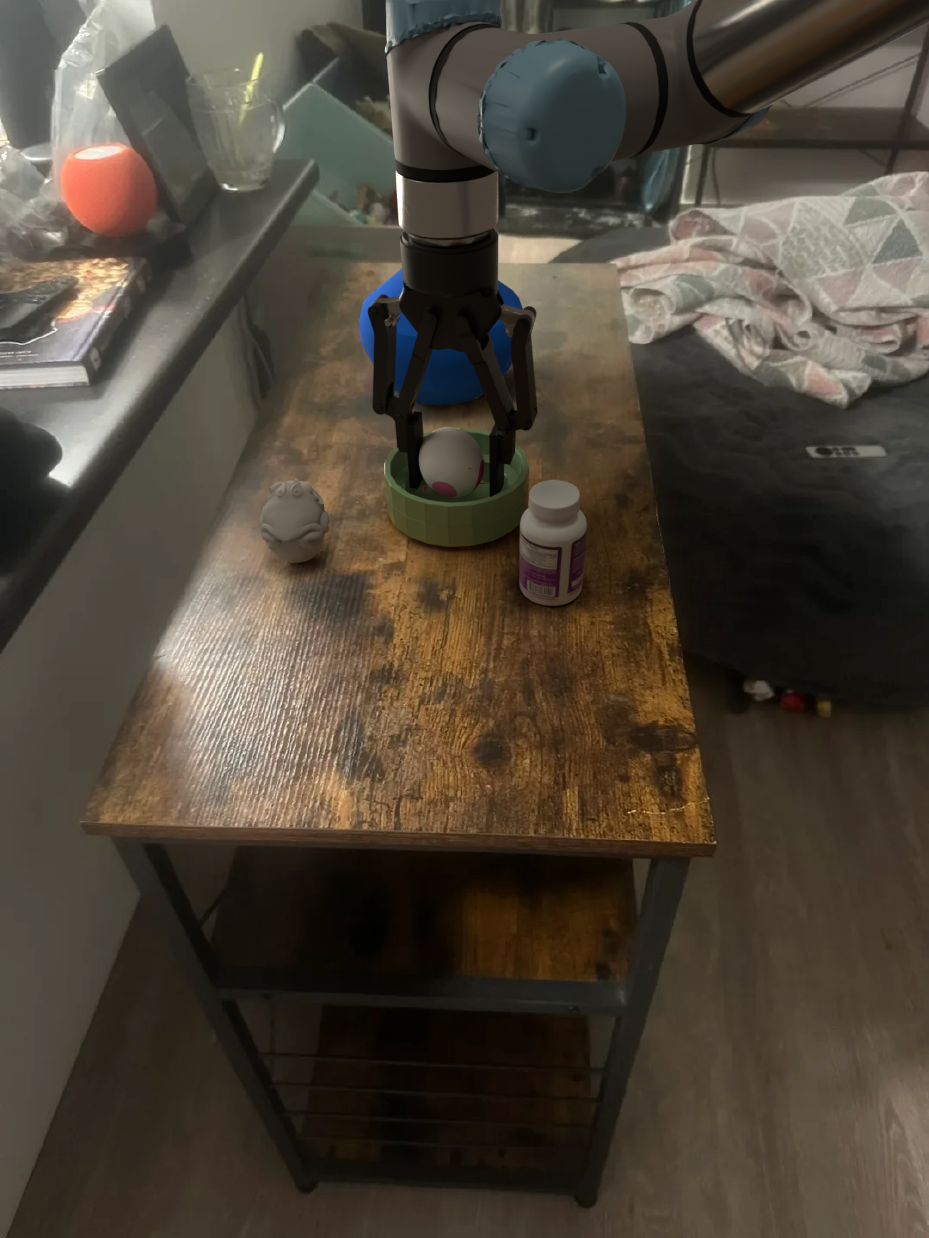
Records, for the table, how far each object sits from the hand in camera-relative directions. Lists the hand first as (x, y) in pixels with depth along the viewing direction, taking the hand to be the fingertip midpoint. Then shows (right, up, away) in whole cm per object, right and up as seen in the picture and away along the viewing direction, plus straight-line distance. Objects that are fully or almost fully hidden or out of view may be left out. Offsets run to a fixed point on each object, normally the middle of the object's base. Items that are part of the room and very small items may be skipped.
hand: (456, 485), depth 82 cm
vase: (-2, +15, +21) cm, 25 cm away
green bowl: (0, -2, +2) cm, 3 cm away
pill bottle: (+8, -10, -7) cm, 15 cm away
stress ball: (0, 0, 0) cm, 0 cm away
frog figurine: (-14, -7, -3) cm, 16 cm away
